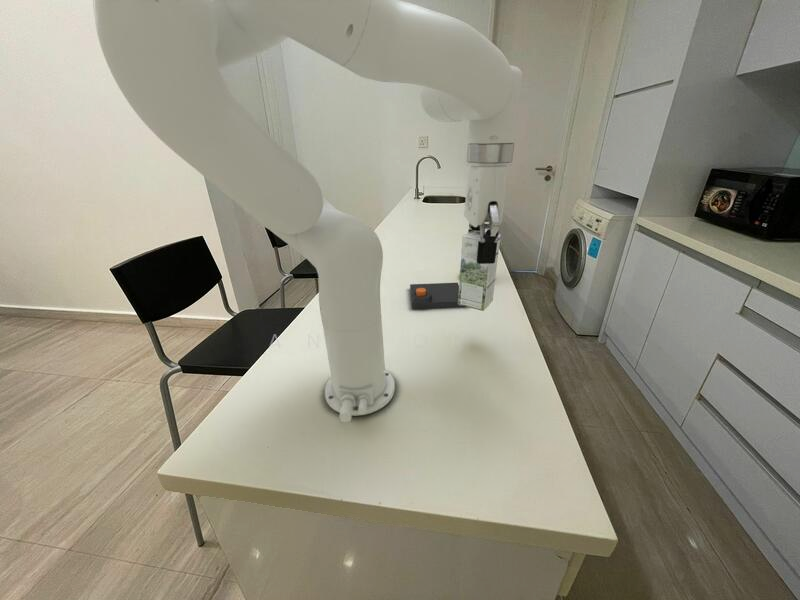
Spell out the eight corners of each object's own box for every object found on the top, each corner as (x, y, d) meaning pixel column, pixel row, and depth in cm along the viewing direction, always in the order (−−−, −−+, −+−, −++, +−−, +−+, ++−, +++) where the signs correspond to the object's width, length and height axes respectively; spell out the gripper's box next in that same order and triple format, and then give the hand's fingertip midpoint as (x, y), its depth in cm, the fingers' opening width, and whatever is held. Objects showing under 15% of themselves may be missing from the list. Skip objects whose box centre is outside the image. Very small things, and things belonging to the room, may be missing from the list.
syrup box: (493, 301, 69) (502, 232, 62) (483, 312, 64) (491, 239, 58) (467, 295, 72) (473, 228, 65) (456, 305, 67) (461, 235, 61)
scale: (465, 308, 86) (466, 296, 85) (411, 310, 86) (411, 298, 85) (457, 288, 98) (457, 277, 96) (409, 290, 98) (409, 279, 96)
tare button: (426, 297, 86) (426, 291, 86) (416, 297, 86) (416, 292, 86) (425, 292, 89) (425, 287, 88) (415, 293, 89) (415, 287, 88)
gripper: (458, 153, 63) (453, 242, 71) (479, 159, 48) (469, 272, 56) (497, 153, 63) (487, 242, 71) (531, 158, 48) (514, 271, 56)
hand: (480, 255), depth 63 cm, fingers closed on syrup box, 7 cm apart
